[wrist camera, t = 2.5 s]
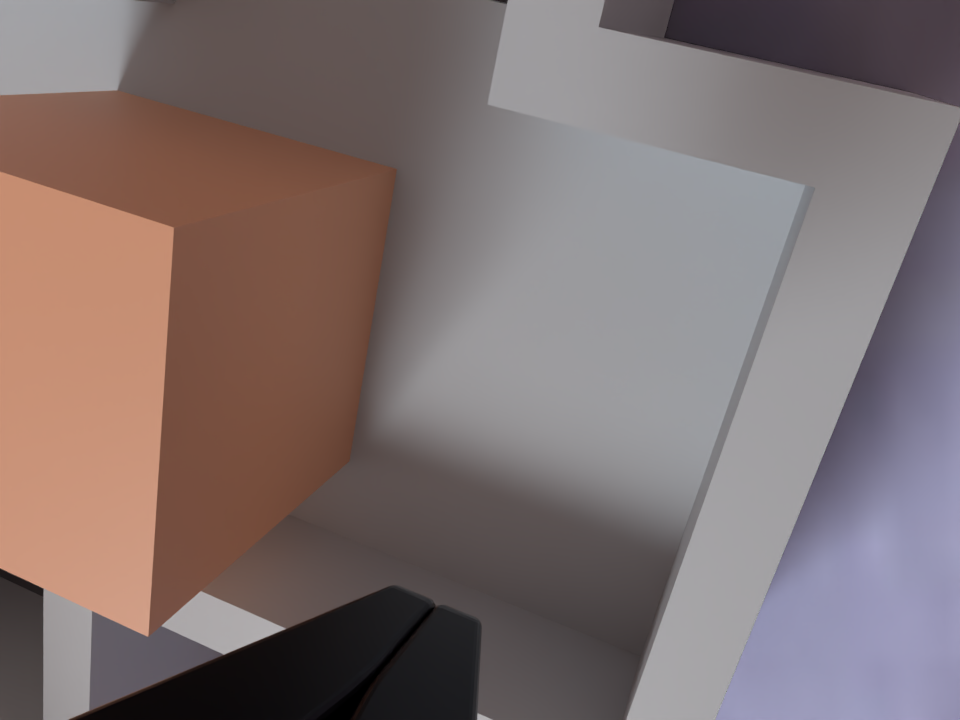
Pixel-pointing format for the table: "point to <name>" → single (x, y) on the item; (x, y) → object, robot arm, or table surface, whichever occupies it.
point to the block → (171, 340)
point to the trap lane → (530, 329)
